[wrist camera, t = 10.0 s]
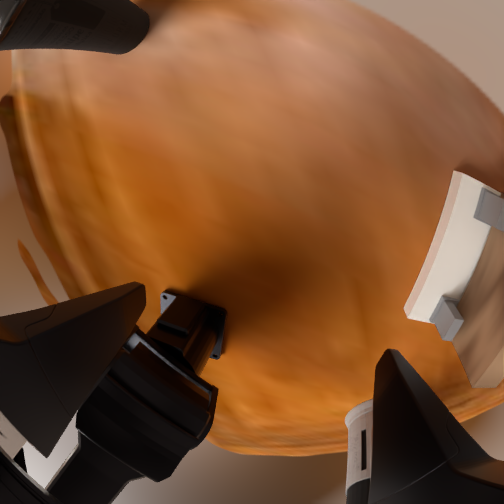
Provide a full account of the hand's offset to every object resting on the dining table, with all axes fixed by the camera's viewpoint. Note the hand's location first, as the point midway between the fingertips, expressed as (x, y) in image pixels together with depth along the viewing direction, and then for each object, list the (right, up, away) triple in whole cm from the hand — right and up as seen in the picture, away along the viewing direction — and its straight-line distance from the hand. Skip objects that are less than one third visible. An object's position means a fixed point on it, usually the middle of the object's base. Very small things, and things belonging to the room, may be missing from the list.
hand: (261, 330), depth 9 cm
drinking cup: (-11, +22, +7) cm, 26 cm away
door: (+18, +1, +6) cm, 19 cm away
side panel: (+19, +2, +8) cm, 20 cm away
